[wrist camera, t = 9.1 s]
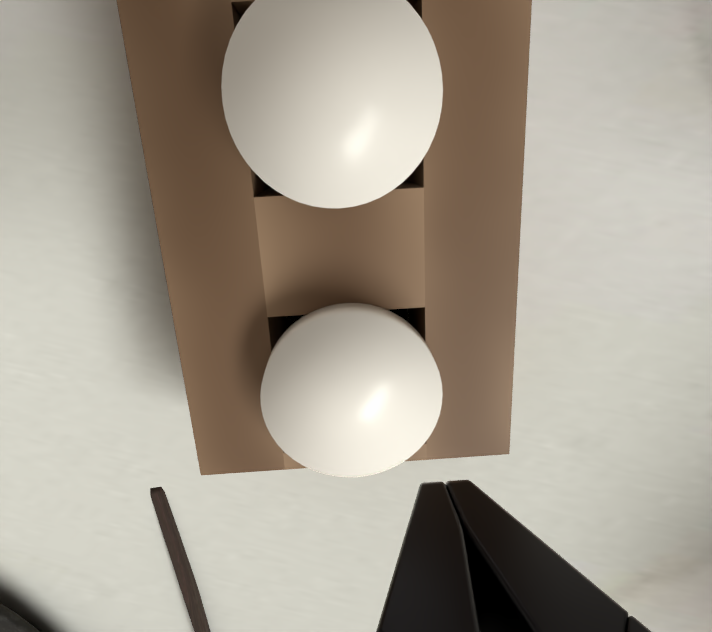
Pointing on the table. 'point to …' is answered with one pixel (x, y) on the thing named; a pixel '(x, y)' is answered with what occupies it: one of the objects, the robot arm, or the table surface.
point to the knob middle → (332, 96)
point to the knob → (351, 390)
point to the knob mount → (335, 227)
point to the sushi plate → (6, 628)
